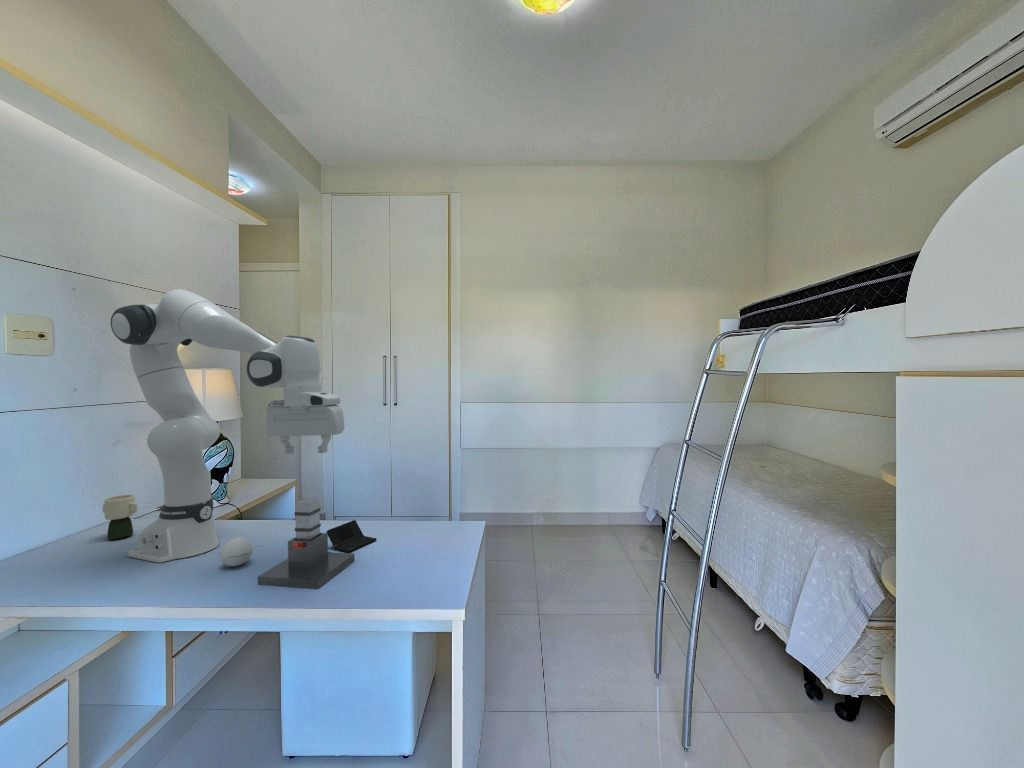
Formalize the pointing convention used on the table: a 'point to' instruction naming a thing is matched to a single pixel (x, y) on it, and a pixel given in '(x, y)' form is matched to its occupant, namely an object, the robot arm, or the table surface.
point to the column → (307, 519)
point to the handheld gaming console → (348, 537)
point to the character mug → (119, 515)
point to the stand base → (307, 565)
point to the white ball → (236, 551)
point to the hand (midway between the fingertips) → (306, 453)
